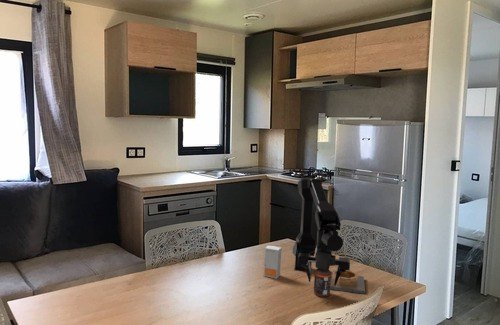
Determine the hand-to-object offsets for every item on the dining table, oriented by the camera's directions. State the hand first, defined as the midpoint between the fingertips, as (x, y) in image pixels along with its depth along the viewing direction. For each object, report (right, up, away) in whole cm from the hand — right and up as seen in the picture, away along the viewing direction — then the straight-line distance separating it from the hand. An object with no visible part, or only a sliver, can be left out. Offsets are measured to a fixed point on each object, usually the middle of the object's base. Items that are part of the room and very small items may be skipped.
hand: (322, 283), depth 148 cm
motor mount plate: (+11, -3, +11) cm, 16 cm away
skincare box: (-18, -2, +16) cm, 24 cm away
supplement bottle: (0, -4, 0) cm, 4 cm away
